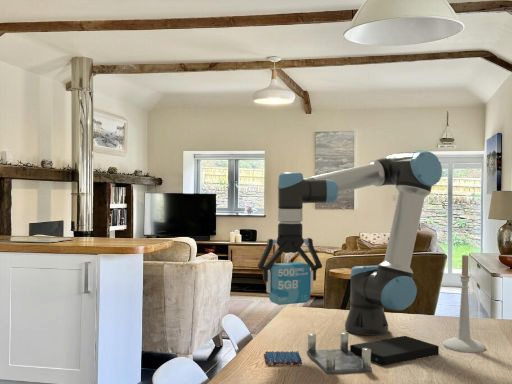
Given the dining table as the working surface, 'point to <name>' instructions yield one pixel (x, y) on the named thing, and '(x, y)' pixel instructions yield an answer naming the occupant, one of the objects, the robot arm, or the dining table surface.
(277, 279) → the data package
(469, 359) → the dining table surface
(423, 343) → the external hard drive
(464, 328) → the candlestick
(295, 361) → the woven mat
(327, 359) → the chassis
